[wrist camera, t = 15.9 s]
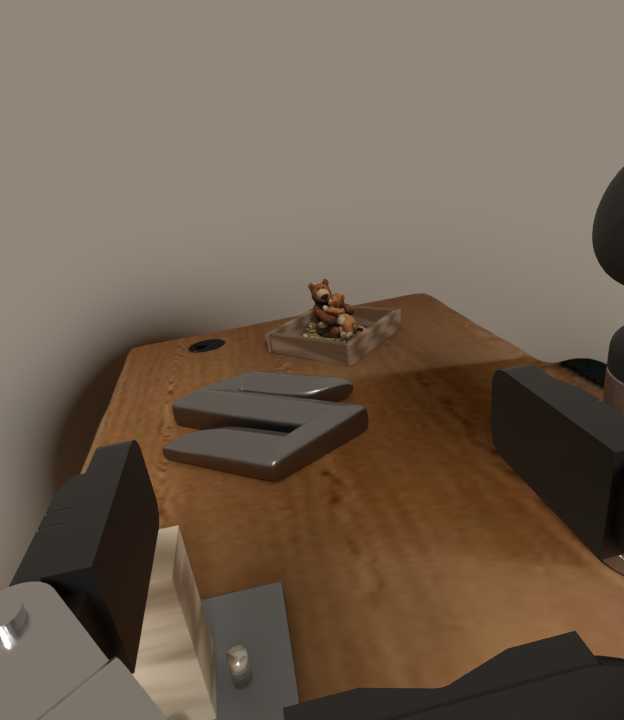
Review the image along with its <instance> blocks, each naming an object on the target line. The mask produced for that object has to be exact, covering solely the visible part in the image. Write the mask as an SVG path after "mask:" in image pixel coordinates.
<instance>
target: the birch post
mask: <svg viewBox="0 0 624 720" xmlns="http://www.w3.org/2000/svg"><path fill="white" fill-rule="evenodd" d="M132 675H133V676H134V678H135V679H136V680H137V681H138V683H139V684H140V685H141V686H142V688H143V689H144V690H145V691H146V693H147V694H148V695H149V696H150V698H151V699H152V700H153V701H154V703H155V704H156V705H157V706H158V708H159V709H160V710H161V712H162V713H163V714H164V715H165V717H166V718H167V719H168V720H213V719H216V717H217V654H216V650H215V647H214V644H213V640H212V637H211V633H210V630H209V627H208V623H207V620H206V617H205V613H204V610H203V606H202V603H201V600H200V596H199V593H198V589H197V586H196V583H195V579H194V576H193V573H192V569H191V566H190V562H189V559H188V556H187V552H186V549H185V545H184V542H183V539H182V535H181V532H180V529H179V525H178V526H173V527H168V528H163V529H159V531H158V537H157V543H156V549H155V555H154V561H153V566H152V572H151V578H150V584H149V590H148V596H147V602H146V608H145V614H144V620H143V626H142V631H141V637H140V643H139V649H138V655H137V661H136V667H135V673H133V674H132Z"/></svg>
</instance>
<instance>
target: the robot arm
mask: <svg viewBox="0 0 624 720" xmlns="http://www.w3.org/2000/svg"><path fill="white" fill-rule="evenodd" d="M592 240H593V248H594V252H595V255H596V257H597V260H598V262H599V263H600V265H601V267H602V268H603V269H604V271H605V272H606V273H607V274H608V275H609V276H610V277H611V278H613V279H614V280H615V281H617V282H619V283H621V284H622V285H624V167H623V168H622V169H621V170H620V171H619V172H618V174H617V175H616V176H615V177H614V179H613V180H612V182H611V183H610V184H609V186H608V188H607V189H606V191H605V193H604V195H603V197H602V199H601V202H600V204H599V206H598V208H597V212H596V215H595V219H594V224H593V232H592ZM491 433H492V439H493V442H494V445H495V448H496V450H497V452H498V453H499V455H500V456H501V457H502V458H503V459H504V460H505V461H506V462H507V463H508V465H509V466H510V467H511V468H512V469H513V470H514V471H515V472H516V473H517V474H518V475H519V476H520V477H521V478H522V479H523V480H524V481H525V482H526V483H527V484H528V485H529V486H530V487H531V488H532V490H533V491H534V492H535V493H536V494H537V495H538V496H539V497H540V498H541V499H542V500H543V501H544V502H545V503H546V504H547V505H548V506H549V507H550V508H551V509H552V510H553V511H554V512H555V514H556V515H557V516H558V517H559V518H560V519H561V520H562V521H563V522H564V523H565V524H566V525H567V526H568V527H569V528H570V529H571V530H572V531H573V532H574V533H575V534H576V535H577V536H578V538H579V539H580V540H581V541H582V542H583V543H584V544H585V545H586V546H587V547H588V548H589V549H590V550H591V551H592V552H593V553H594V554H595V555H596V556H597V557H598V558H599V559H600V560H602V561H603V562H604V563H606V564H607V565H609V566H610V567H611V568H613V569H614V570H616V571H618V572H619V573H621V574H623V575H624V326H622V327H621V328H620V329H619V330H617V331H616V333H615V334H614V335H613V337H612V339H611V342H610V346H609V353H608V361H607V370H606V378H605V386H604V394H603V402H600V401H599V399H598V398H596V397H595V396H593V395H591V394H590V393H588V392H587V391H585V390H583V389H582V388H580V387H577V386H574V385H570V384H567V383H564V382H561V381H558V380H555V379H554V378H552V377H551V376H549V375H548V374H546V373H544V372H543V371H541V370H540V369H538V368H537V367H535V366H533V365H531V364H526V365H521V366H516V367H511V368H506V369H501V370H497V371H496V372H495V373H494V375H493V380H492V415H491ZM46 514H47V515H46V516H44V518H43V520H42V522H41V524H40V526H39V528H38V529H39V532H36V534H35V536H34V538H33V540H32V542H31V544H30V546H29V548H28V550H27V552H26V554H25V556H24V558H23V560H22V562H21V564H20V566H19V568H18V570H17V572H16V574H15V576H14V578H13V580H12V582H11V584H10V586H9V587H8V588H6V589H4V590H2V591H0V720H168V719H167V718H166V717H165V715H164V714H163V713H162V712H161V710H160V709H159V708H158V706H157V705H156V704H155V703H154V701H153V700H152V699H151V698H150V696H149V695H148V694H147V693H146V691H145V690H144V689H143V688H142V686H141V685H140V684H139V683H138V681H137V680H136V679H135V678H134V676H133V675H132V674H133V673H135V667H136V661H137V655H138V649H139V643H140V637H141V631H142V626H143V620H144V614H145V608H146V602H147V596H148V590H149V584H150V578H151V572H152V566H153V561H154V555H155V549H156V543H157V537H158V531H159V512H158V505H157V501H156V497H155V494H154V490H153V487H152V484H151V481H150V478H149V474H148V471H147V468H146V465H145V461H144V458H143V455H142V452H141V449H140V446H139V444H138V443H137V441H135V440H132V441H127V442H121V443H116V444H111V445H106V446H101V447H98V448H97V449H96V451H95V453H94V455H93V458H92V460H91V462H90V464H89V467H88V469H87V471H86V474H81V475H76V476H73V477H72V478H71V479H70V480H69V481H68V482H67V483H66V484H65V485H64V486H63V487H62V488H61V489H60V490H59V491H58V492H57V493H56V494H55V496H54V498H53V500H52V502H51V504H50V506H49V508H48V510H47V512H46ZM283 714H284V720H624V659H622V658H615V657H607V656H594V655H593V654H592V652H591V651H590V650H589V648H588V647H587V646H586V644H585V643H584V642H583V640H582V639H581V638H580V636H579V635H578V634H577V632H576V631H573V632H569V633H565V634H561V635H558V636H554V637H550V638H546V639H542V640H539V641H535V642H531V643H527V644H523V645H520V646H516V647H512V648H508V649H506V650H504V651H503V652H501V653H500V654H498V655H496V656H495V657H493V658H492V659H490V660H488V661H487V662H485V663H483V664H482V665H480V666H479V667H477V668H475V669H474V670H472V671H471V672H469V673H467V674H466V675H464V676H462V677H461V678H459V679H458V680H456V681H454V682H453V683H451V684H449V685H447V686H445V687H442V688H435V689H425V688H356V689H353V690H349V691H345V692H341V693H337V694H334V695H330V696H326V697H322V698H318V699H315V700H311V701H307V702H303V703H299V704H296V705H292V706H288V707H284V708H283Z"/></svg>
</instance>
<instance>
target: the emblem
mask: <svg viewBox="0 0 624 720" xmlns="http://www.w3.org/2000/svg"><path fill="white" fill-rule="evenodd" d="M352 391H353V385H352V383H351V381H350V380H349V379H347V378H342V377H331V376H312V375H299V374H286V373H274V372H262V371H259V372H248V373H245V374H242V375H239V376H236V377H233V378H230V379H227V380H225V381H222V382H219V383H216V384H213V385H210V386H207V387H204V388H201V389H198V390H196V391H194V392H192V393H191V394H189V395H187V396H186V397H184V398H182V399H180V400H179V401H177V402H175V403H174V404H173V414H174V417H175V420H176V423H177V425H178V426H182V427H188V428H193V429H198V430H202V431H197V432H194V433H191V434H188V435H185V436H183V437H180V438H178V439H176V440H174V441H171V442H170V443H168V444H167V445H166V446H165V447H164V448H163V454H164V456H165V458H167V459H169V460H173V461H178V462H184V463H189V464H194V465H198V466H202V467H206V468H210V469H215V470H219V471H224V472H229V473H233V474H238V475H243V476H248V477H253V478H258V479H263V480H268V481H275V482H276V481H280V480H282V479H284V478H286V477H287V476H289V475H291V474H293V473H295V472H296V471H298V470H300V469H302V468H303V467H305V466H307V465H309V464H310V463H312V462H314V461H316V460H318V459H319V458H321V457H323V456H325V455H326V454H328V453H330V452H331V451H333V450H335V449H337V448H338V447H340V446H342V445H343V444H345V443H347V442H348V441H350V440H352V439H353V438H355V437H357V436H358V435H360V434H361V433H363V432H365V431H366V430H367V428H368V414H367V410H366V408H365V407H364V406H361V405H356V404H347V403H339V402H336V401H339V400H341V399H343V398H345V397H347V396H348V395H350V394H351V393H352Z"/></svg>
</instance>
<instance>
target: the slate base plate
mask: <svg viewBox="0 0 624 720" xmlns="http://www.w3.org/2000/svg"><path fill="white" fill-rule="evenodd" d="M201 603H202V606H203V610H204V613H205V617H206V620H207V623H208V627H209V630H210V633H211V637H212V640H213V644H214V647H215V650H216V654H217V717H216V719H213V720H284V714H283V708H284V707H288V706H292V705H296V704H299V703H300V702H299V695H298V688H297V681H296V675H295V668H294V661H293V654H292V647H291V641H290V634H289V627H288V620H287V613H286V606H285V600H284V593H283V587H282V582H281V581H280V582H276V583H272V584H267V585H263V586H259V587H255V588H250V589H246V590H242V591H237V592H233V593H229V594H225V595H220V596H216V597H212V598H208V599H203V600H201Z"/></svg>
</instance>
